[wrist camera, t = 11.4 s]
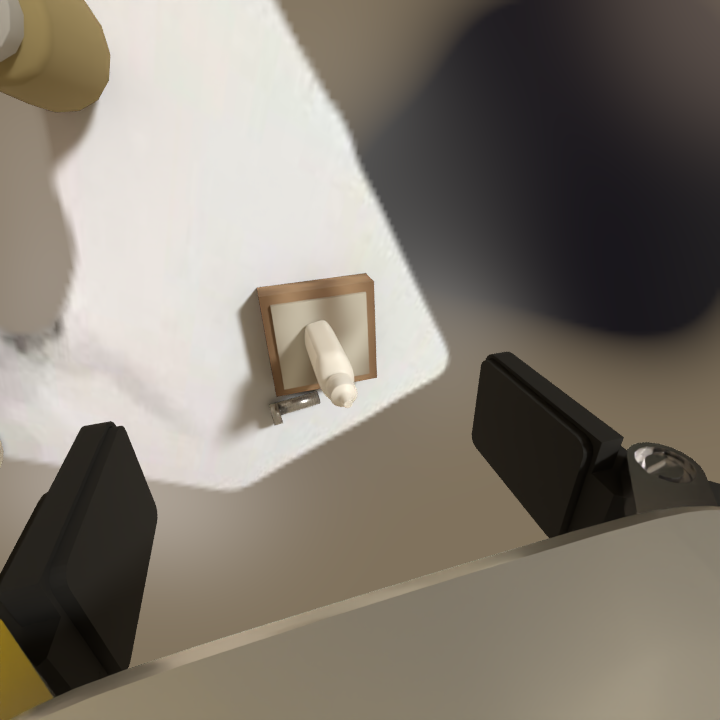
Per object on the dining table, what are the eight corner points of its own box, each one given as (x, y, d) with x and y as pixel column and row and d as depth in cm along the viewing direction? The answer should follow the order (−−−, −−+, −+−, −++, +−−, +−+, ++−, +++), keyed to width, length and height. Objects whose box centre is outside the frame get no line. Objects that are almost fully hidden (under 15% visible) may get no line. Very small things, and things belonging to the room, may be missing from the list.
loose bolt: (269, 403, 50) (274, 423, 50) (269, 406, 47) (275, 427, 48) (315, 390, 51) (320, 409, 51) (318, 391, 49) (323, 412, 49)
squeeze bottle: (-22, -33, 27) (-345, -253, 12) (114, -4, 29) (-12, -157, 14) (11, 106, 31) (-205, 75, 16) (129, 122, 33) (42, 108, 18)
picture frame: (274, 383, 48) (276, 398, 45) (256, 287, 42) (258, 298, 39) (369, 365, 51) (377, 379, 48) (365, 273, 45) (374, 282, 42)
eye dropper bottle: (295, 362, 44) (314, 430, 34) (307, 315, 42) (331, 372, 32) (333, 367, 45) (362, 433, 35) (346, 322, 43) (381, 378, 33)
